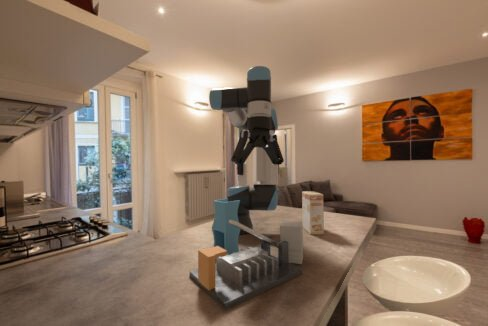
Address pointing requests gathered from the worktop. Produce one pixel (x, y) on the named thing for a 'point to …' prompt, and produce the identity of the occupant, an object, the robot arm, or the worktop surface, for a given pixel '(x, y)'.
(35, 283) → the worktop surface
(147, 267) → the worktop surface
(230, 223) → the strap
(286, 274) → the heatsink
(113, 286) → the worktop surface
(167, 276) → the worktop surface
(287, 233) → the supplement box
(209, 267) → the lug slider
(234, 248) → the vase
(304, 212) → the coffeecake box
